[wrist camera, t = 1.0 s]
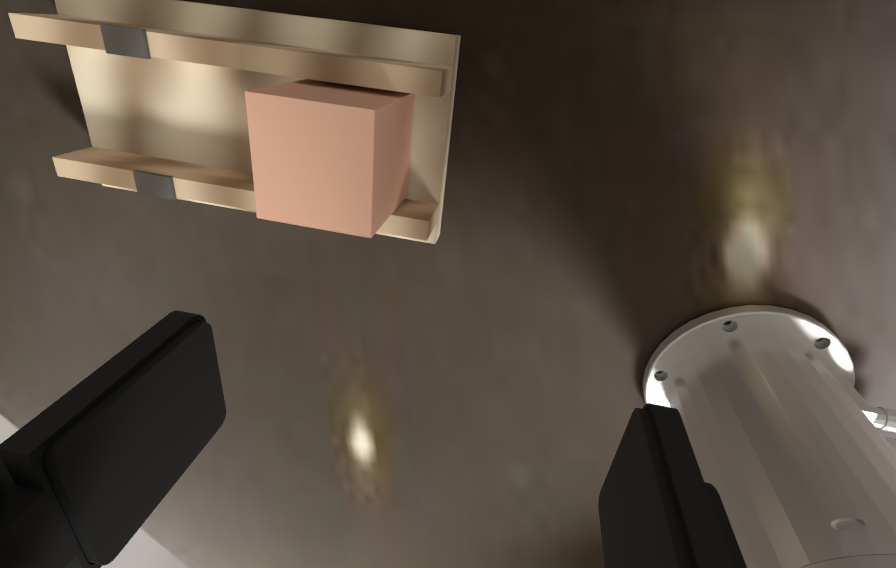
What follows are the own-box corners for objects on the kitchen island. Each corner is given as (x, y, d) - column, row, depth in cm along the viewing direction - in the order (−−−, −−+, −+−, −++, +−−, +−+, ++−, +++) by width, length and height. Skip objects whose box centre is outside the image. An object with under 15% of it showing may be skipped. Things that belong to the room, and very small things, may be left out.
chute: (460, 35, 26) (444, 36, 22) (439, 235, 32) (423, 265, 28) (73, -13, 29) (-8, -21, 24) (119, 179, 34) (60, 199, 30)
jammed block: (414, 91, 26) (374, 110, 20) (407, 195, 29) (371, 238, 23) (312, 77, 27) (244, 91, 21) (316, 179, 30) (257, 217, 24)
